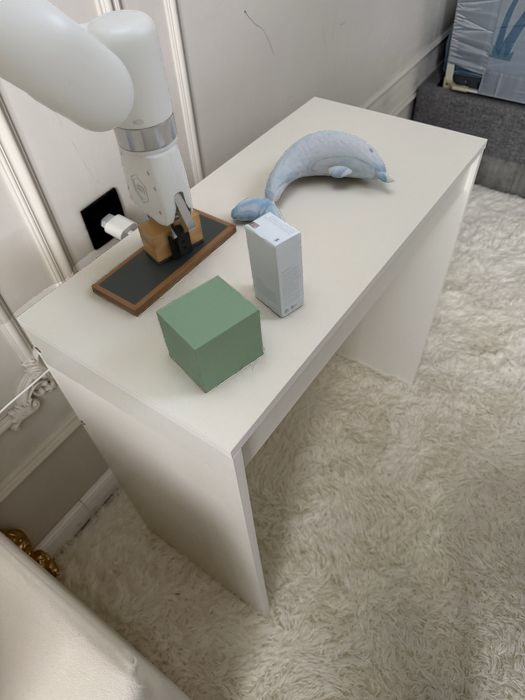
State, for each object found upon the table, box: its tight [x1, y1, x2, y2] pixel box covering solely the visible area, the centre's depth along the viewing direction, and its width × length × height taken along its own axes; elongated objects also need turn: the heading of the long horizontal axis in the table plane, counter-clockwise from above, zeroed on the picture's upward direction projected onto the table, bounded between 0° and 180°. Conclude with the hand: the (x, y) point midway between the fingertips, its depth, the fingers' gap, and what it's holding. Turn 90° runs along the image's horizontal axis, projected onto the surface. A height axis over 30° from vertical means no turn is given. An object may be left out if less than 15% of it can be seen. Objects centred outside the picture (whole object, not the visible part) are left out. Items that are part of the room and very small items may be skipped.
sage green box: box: [155, 274, 264, 394], centre depth 63 cm, size 9×8×8 cm
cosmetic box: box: [244, 212, 305, 318], centre depth 67 cm, size 6×4×12 cm
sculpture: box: [230, 129, 395, 223], centre depth 84 cm, size 18×8×25 cm
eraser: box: [136, 210, 204, 265], centre depth 77 cm, size 8×4×5 cm, turn 130°
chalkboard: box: [90, 207, 237, 317], centre depth 78 cm, size 22×9×1 cm, turn 144°
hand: (174, 246), depth 78 cm, fingers closed on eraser, 4 cm apart
